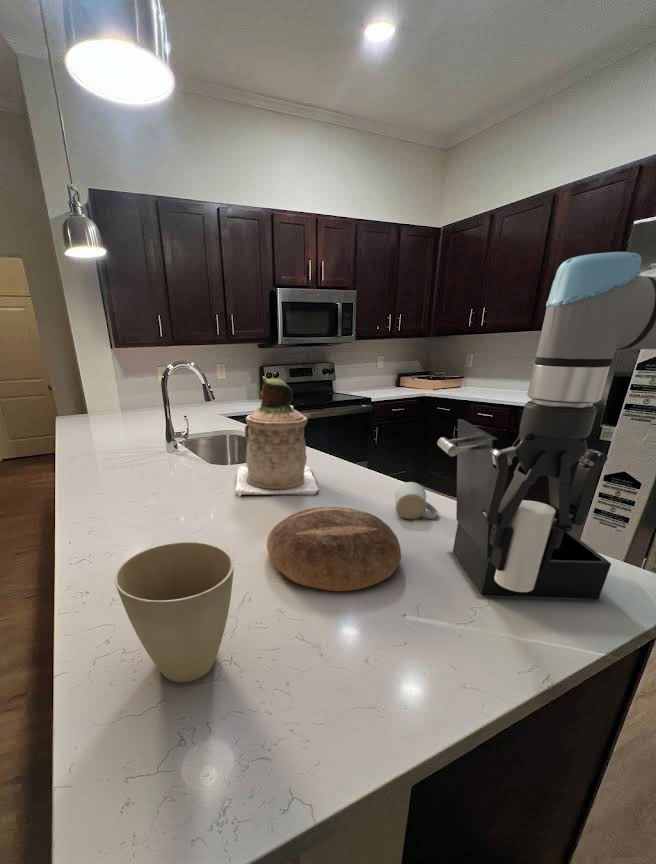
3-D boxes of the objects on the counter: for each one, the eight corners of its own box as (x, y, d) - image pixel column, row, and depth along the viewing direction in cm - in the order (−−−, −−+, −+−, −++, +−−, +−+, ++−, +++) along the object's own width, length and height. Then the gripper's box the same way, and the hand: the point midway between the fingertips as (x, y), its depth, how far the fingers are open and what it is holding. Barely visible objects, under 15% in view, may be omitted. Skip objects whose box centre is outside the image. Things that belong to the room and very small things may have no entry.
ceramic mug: (394, 519, 104) (397, 491, 101) (393, 507, 111) (396, 480, 108) (439, 524, 102) (444, 495, 99) (435, 511, 109) (440, 483, 106)
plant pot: (243, 629, 67) (239, 540, 60) (233, 706, 53) (226, 602, 47) (150, 628, 67) (136, 540, 61) (116, 705, 53) (93, 601, 47)
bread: (262, 534, 97) (261, 495, 93) (374, 528, 100) (377, 490, 96) (274, 600, 74) (273, 551, 70) (420, 590, 76) (427, 542, 72)
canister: (530, 576, 63) (551, 502, 58) (537, 595, 58) (560, 517, 54) (492, 570, 64) (509, 498, 60) (496, 588, 60) (514, 511, 55)
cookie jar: (320, 496, 120) (324, 379, 107) (234, 498, 119) (228, 381, 106) (310, 469, 142) (312, 371, 130) (237, 471, 142) (233, 372, 129)
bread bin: (549, 557, 86) (559, 523, 83) (597, 602, 72) (611, 563, 69) (451, 555, 88) (457, 521, 85) (480, 599, 73) (489, 560, 70)
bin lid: (462, 418, 76) (429, 423, 77) (498, 439, 62) (457, 444, 63) (460, 519, 84) (430, 522, 85) (492, 557, 70) (456, 561, 71)
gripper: (618, 397, 54) (569, 555, 63) (472, 397, 55) (445, 552, 64) (664, 407, 47) (601, 582, 56) (496, 406, 48) (461, 578, 57)
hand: (518, 566), depth 60 cm, fingers closed on canister, 5 cm apart
